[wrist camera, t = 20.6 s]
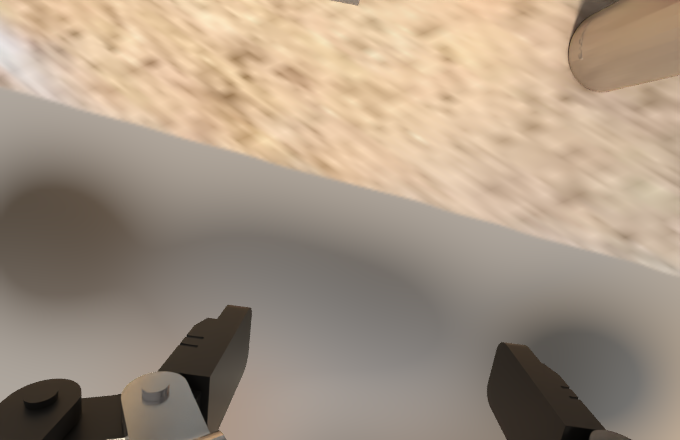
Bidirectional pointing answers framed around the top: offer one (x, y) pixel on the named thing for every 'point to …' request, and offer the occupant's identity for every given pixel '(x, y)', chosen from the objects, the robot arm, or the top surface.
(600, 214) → the top surface
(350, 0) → the tall stand
